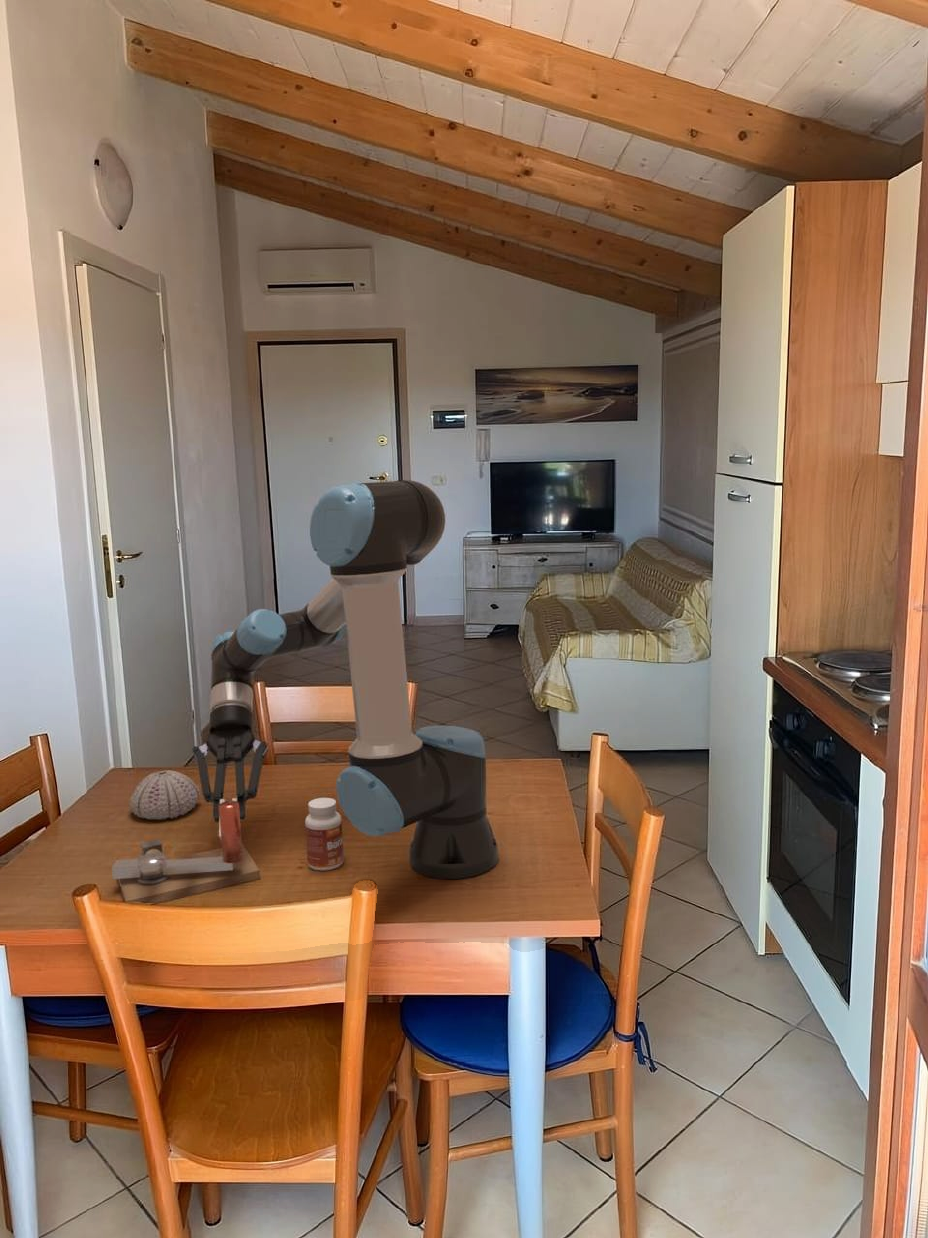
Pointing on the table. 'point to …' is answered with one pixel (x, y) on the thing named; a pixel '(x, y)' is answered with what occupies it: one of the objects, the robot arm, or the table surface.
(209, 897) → the table surface
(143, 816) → the sea urchin shell
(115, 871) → the lever
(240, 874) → the cracker base
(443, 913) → the table surface
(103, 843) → the table surface
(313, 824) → the pill bottle
